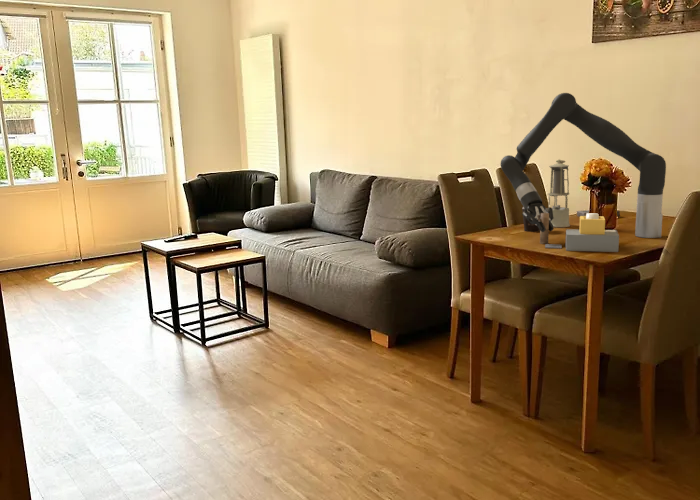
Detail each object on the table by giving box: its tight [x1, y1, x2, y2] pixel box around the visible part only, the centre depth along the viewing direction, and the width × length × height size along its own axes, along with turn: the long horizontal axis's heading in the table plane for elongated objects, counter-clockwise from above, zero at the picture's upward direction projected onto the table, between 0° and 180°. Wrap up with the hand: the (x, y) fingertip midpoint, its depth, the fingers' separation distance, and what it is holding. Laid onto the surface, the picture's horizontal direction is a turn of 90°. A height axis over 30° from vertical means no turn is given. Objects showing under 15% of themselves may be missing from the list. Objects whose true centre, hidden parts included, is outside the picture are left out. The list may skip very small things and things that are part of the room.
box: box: [576, 209, 621, 218], centre depth 312 cm, size 11×17×3 cm, turn 91°
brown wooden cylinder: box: [539, 213, 550, 245], centre depth 250 cm, size 3×3×12 cm
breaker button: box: [586, 213, 599, 219], centre depth 238 cm, size 4×4×8 cm
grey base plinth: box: [564, 216, 620, 253], centre depth 239 cm, size 18×12×12 cm, turn 73°
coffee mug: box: [521, 206, 540, 233], centre depth 279 cm, size 12×9×10 cm
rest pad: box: [544, 243, 562, 250], centre depth 244 cm, size 6×6×1 cm
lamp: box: [547, 159, 571, 228], centre depth 289 cm, size 10×13×30 cm
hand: (547, 230), depth 249 cm, fingers closed on brown wooden cylinder, 3 cm apart
